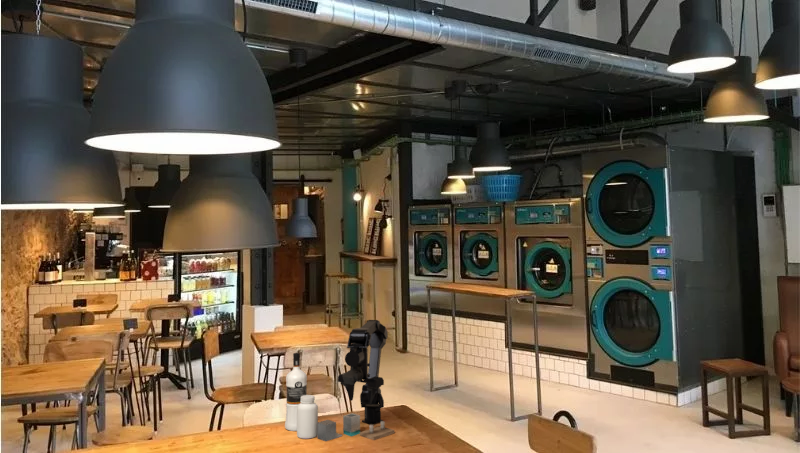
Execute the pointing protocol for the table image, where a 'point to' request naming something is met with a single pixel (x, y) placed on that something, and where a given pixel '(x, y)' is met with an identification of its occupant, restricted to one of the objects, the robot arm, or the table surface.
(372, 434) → the pin board
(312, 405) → the pill bottle
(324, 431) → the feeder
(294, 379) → the vodka
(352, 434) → the sleeve
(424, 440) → the table surface
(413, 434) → the table surface
